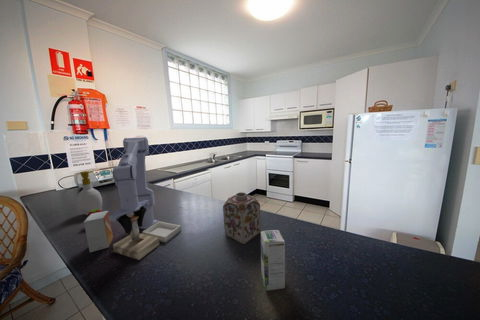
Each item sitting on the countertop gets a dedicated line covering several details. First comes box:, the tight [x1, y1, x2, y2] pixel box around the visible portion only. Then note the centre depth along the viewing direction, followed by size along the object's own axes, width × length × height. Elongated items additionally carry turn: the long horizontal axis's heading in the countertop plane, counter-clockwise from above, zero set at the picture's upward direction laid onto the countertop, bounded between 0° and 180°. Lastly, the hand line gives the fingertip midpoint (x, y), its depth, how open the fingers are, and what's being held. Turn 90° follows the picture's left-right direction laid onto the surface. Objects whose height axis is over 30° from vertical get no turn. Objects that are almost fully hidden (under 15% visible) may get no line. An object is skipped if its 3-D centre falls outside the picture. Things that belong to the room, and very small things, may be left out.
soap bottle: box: [76, 170, 103, 216], centre depth 101 cm, size 14×9×26 cm, turn 79°
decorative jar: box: [222, 191, 262, 245], centre depth 73 cm, size 12×12×18 cm
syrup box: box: [260, 229, 286, 292], centre depth 48 cm, size 6×6×14 cm
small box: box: [83, 210, 114, 253], centre depth 70 cm, size 8×6×13 cm
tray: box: [141, 220, 182, 243], centre depth 77 cm, size 13×9×2 cm
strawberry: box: [87, 207, 104, 218], centre depth 88 cm, size 6×8×10 cm
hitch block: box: [112, 232, 160, 261], centre depth 68 cm, size 14×9×3 cm, turn 68°
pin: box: [127, 214, 141, 240], centre depth 67 cm, size 4×4×9 cm
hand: (134, 229), depth 67 cm, fingers closed on pin, 4 cm apart
